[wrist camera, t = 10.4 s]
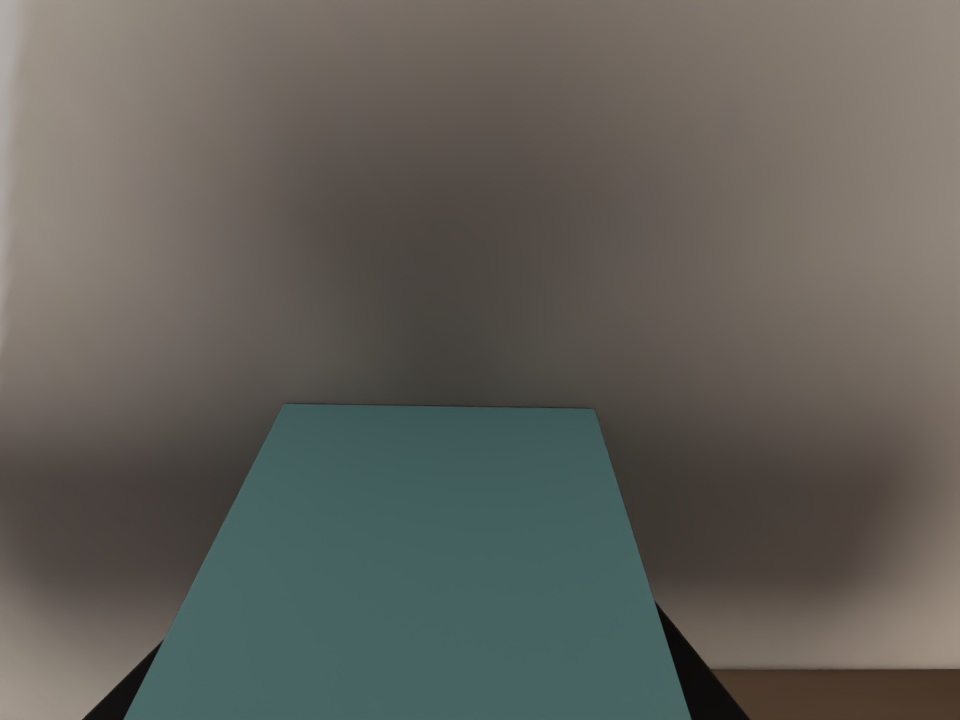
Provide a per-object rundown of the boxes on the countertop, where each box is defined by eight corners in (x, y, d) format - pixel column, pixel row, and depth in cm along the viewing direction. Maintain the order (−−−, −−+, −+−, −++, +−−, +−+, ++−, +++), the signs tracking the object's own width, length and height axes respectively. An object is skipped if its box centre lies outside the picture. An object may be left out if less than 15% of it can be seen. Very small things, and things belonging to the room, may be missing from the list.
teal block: (564, 611, 12) (615, 945, 8) (318, 608, 12) (227, 946, 7) (594, 408, 9) (695, 733, 5) (283, 403, 9) (118, 731, 5)
